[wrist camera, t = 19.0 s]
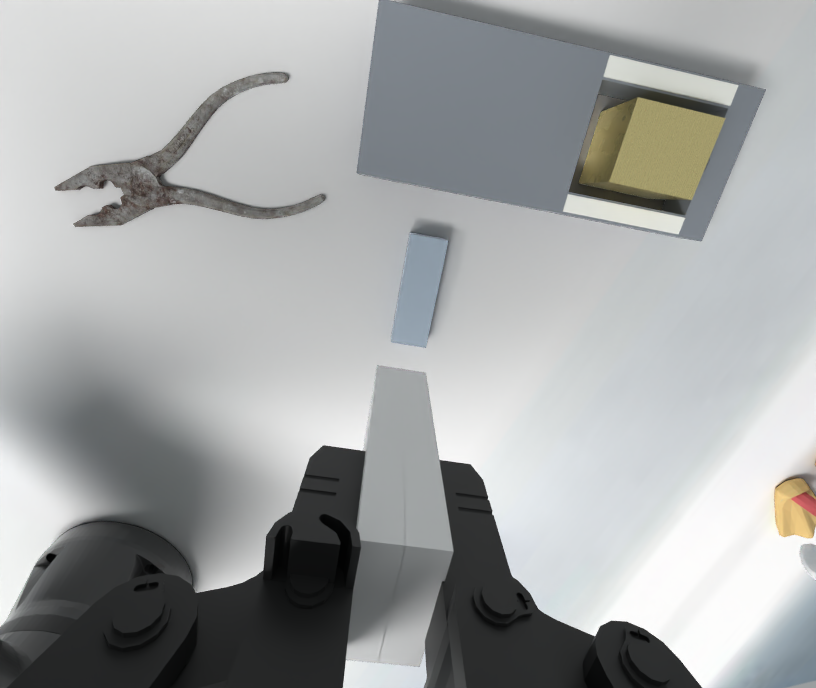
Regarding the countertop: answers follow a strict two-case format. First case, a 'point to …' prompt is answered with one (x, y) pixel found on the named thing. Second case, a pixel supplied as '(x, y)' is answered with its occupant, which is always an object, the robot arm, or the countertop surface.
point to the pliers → (144, 173)
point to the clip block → (650, 150)
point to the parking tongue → (418, 289)
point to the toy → (797, 517)
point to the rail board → (525, 116)
